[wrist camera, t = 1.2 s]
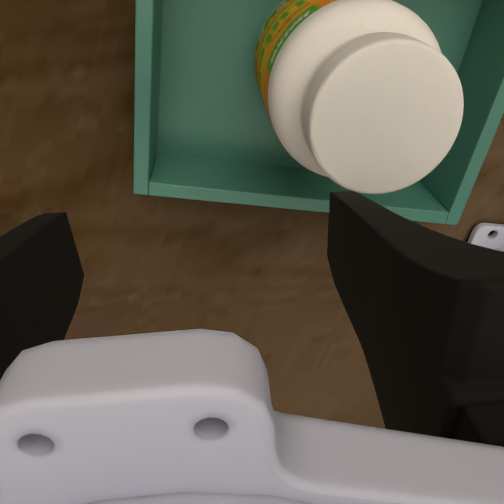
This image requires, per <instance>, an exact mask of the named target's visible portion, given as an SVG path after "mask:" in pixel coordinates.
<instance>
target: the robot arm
mask: <svg viewBox="0 0 504 504" xmlns="http://www.w3.org/2000/svg"><path fill="white" fill-rule="evenodd" d="M491 231H494V232H493V233H492V234H491V235H488V234H489V233H490V232H491ZM327 256H328V260H329V264H330V268H331V272H332V276H333V280H334V283H335V286H336V288H337V290H338V293H339V295H340V297H341V300H342V302H343V304H344V307H345V309H346V311H347V314H348V316H349V318H350V320H351V323H352V325H353V327H354V330H355V332H356V334H357V336H358V339H359V341H360V343H361V346H362V349H363V351H364V354H365V357H366V361H367V364H368V367H369V371H370V374H371V377H372V381H373V384H374V387H375V391H376V395H377V398H378V402H379V405H380V409H381V413H382V416H383V420H384V424H385V428H386V429H384V428H377V427H371V426H364V425H358V424H351V423H345V422H338V421H331V420H325V419H318V418H312V417H305V416H299V415H292V414H286V413H279V412H277V411H275V410H274V409H273V407H272V403H271V396H270V388H269V381H268V373H267V369H266V366H265V364H264V362H263V360H262V357H261V355H260V353H259V350H258V348H257V347H255V346H253V345H252V344H250V343H249V342H247V341H245V340H244V339H242V338H241V337H239V336H237V335H236V334H234V333H232V332H223V331H215V330H206V329H190V330H178V331H166V332H154V333H142V334H131V335H119V336H107V337H95V338H83V339H71V340H64V338H65V335H66V333H67V330H68V328H69V325H70V323H71V320H72V318H73V315H74V313H75V310H76V307H77V305H78V301H79V297H80V292H81V288H82V282H83V277H84V273H83V270H82V266H81V263H80V259H79V256H78V252H77V249H76V245H75V242H74V239H73V235H72V232H71V228H70V225H69V221H68V218H67V214H66V212H61V213H48V214H41V215H39V216H36V217H34V218H32V219H30V220H28V221H27V222H25V223H23V224H21V225H19V226H18V227H16V228H14V229H13V230H11V231H9V232H8V233H6V234H4V235H2V236H1V237H0V504H504V225H503V224H493V223H480V224H478V225H476V226H475V227H474V229H473V230H472V233H471V235H470V237H469V240H468V242H464V241H461V240H457V239H455V238H452V237H449V236H446V235H443V234H440V233H438V232H435V231H433V230H430V229H428V228H425V227H423V226H421V225H419V224H416V223H414V222H412V221H410V220H408V219H406V218H404V217H402V216H400V215H398V214H396V213H394V212H392V211H390V210H388V209H387V208H385V207H383V206H381V205H379V204H378V203H376V202H374V201H372V200H370V199H369V198H367V197H365V196H363V195H361V194H359V193H357V192H354V191H340V192H330V202H329V225H328V249H327Z"/></svg>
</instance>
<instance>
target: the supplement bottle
mask: <svg viewBox="0 0 504 504" xmlns="http://www.w3.org/2000/svg"><path fill="white" fill-rule="evenodd" d="M254 70H255V76H256V80H257V84H258V87H259V90H260V92H261V95H262V98H263V100H264V103H265V107H266V109H267V111H268V114H269V117H270V120H271V123H272V126H273V128H274V130H275V133H276V134H277V136H278V138H279V140H280V142H281V143H282V145H283V146H284V148H285V149H286V151H287V152H288V153H289V154H290V155H291V156H292V157H293V158H294V159H295V160H296V161H297V162H299V163H300V164H301V165H302V166H304V167H305V168H307V169H309V170H311V171H313V172H315V173H317V174H320V175H323V176H326V177H329V178H330V179H331V180H332V181H334V182H335V183H336V184H338V185H340V186H342V187H344V188H346V189H348V190H351V191H354V192H358V193H365V194H383V193H389V192H393V191H397V190H400V189H403V188H406V187H408V186H410V185H412V184H414V183H416V182H417V181H419V180H421V179H422V178H423V177H425V176H426V175H427V174H429V173H430V172H431V171H432V170H433V169H434V168H435V167H436V166H437V165H438V164H439V163H440V162H441V161H442V160H443V159H444V157H445V156H446V155H447V153H448V152H449V150H450V149H451V147H452V145H453V143H454V141H455V139H456V137H457V135H458V132H459V129H460V126H461V122H462V117H463V108H464V99H463V90H462V86H461V82H460V79H459V77H458V75H457V73H456V71H455V69H454V67H453V66H452V64H451V63H450V62H449V61H448V59H447V58H446V57H445V56H444V55H443V54H442V53H441V50H440V47H439V44H438V42H437V40H436V38H435V36H434V34H433V33H432V31H431V30H430V28H429V27H428V25H427V24H426V23H425V22H424V21H423V20H422V19H421V18H420V17H419V16H418V15H417V14H416V13H414V12H413V11H411V10H410V9H408V8H407V7H405V6H403V5H401V4H399V3H397V2H395V1H393V0H283V1H282V2H281V3H280V4H278V5H277V6H276V7H275V8H274V10H273V11H272V12H271V13H270V14H269V16H268V17H267V19H266V20H265V22H264V24H263V26H262V27H261V30H260V32H259V35H258V38H257V41H256V45H255V51H254Z"/></svg>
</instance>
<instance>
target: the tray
mask: <svg viewBox="0 0 504 504" xmlns="http://www.w3.org/2000/svg"><path fill="white" fill-rule="evenodd" d="M282 1H283V0H136V3H135V91H134V178H133V193H134V194H141V195H148V194H149V195H151V196H161V197H171V198H182V199H192V200H202V201H213V202H223V203H233V204H244V205H254V206H264V207H275V208H285V209H295V210H306V211H316V212H326V213H329V202H330V192H340V191H351V190H348V189H346V188H344V187H342V186H340V185H338V184H336V183H335V182H334V181H332V180H331V179H330V178H329V177H326V176H323V175H320V174H317V173H315V172H313V171H311V170H309V169H307V168H305V167H304V166H302V165H301V164H300V163H299V162H297V161H296V160H295V159H294V158H293V157H292V156H291V155H290V154H289V153H288V152H287V151H286V149H285V148H284V146H283V145H282V143H281V142H280V140H279V138H278V136H277V134H276V133H275V130H274V128H273V126H272V123H271V120H270V117H269V114H268V111H267V109H266V107H265V103H264V100H263V98H262V95H261V92H260V90H259V87H258V84H257V80H256V76H255V70H254V51H255V45H256V41H257V38H258V35H259V32H260V30H261V27H262V26H263V24H264V22H265V20H266V19H267V17H268V16H269V14H270V13H271V12H272V11H273V10H274V8H275V7H276V6H277V5H278V4H280V3H281V2H282ZM393 1H395V2H397V3H399V4H401V5H403V6H405V7H407V8H408V9H410V10H411V11H413V12H414V13H416V14H417V15H418V16H419V17H420V18H421V19H422V20H423V21H424V22H425V23H426V24H427V25H428V27H429V28H430V30H431V31H432V33H433V34H434V36H435V38H436V40H437V42H438V44H439V47H440V50H441V53H442V54H443V55H444V56H445V57H446V58H447V59H448V61H449V62H450V63H451V64H452V66H453V67H454V69H455V71H456V73H457V75H458V77H459V79H460V82H461V86H462V90H463V99H464V108H463V117H462V122H461V126H460V129H459V132H458V135H457V137H456V139H455V141H454V143H453V145H452V147H451V149H450V150H449V152H448V153H447V155H446V156H445V157H444V159H443V160H442V161H441V162H440V163H439V164H438V165H437V166H436V167H435V168H434V169H433V170H432V171H431V172H430V173H429V174H427V175H426V176H425V177H423V178H422V179H421V180H419V181H417V182H416V183H414V184H412V185H410V186H408V187H406V188H403V189H400V190H397V191H393V192H389V193H383V194H365V193H359V194H361V195H363V196H365V197H367V198H369V199H370V200H372V201H374V202H376V203H378V204H379V205H381V206H383V207H385V208H387V209H388V210H390V211H392V212H394V213H396V214H398V215H400V216H402V217H404V218H406V219H408V220H410V221H419V222H430V223H440V224H444V223H445V224H450V225H457V224H458V222H459V219H460V217H461V214H462V212H463V210H464V207H465V205H466V202H467V200H468V197H469V195H470V193H471V190H472V188H473V185H474V183H475V181H476V178H477V176H478V173H479V171H480V169H481V166H482V164H483V161H484V159H485V157H486V154H487V152H488V149H489V147H490V145H491V142H492V140H493V137H494V135H495V133H496V130H497V128H498V125H499V123H500V121H501V118H502V116H503V113H504V0H393ZM357 193H358V192H357Z"/></svg>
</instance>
